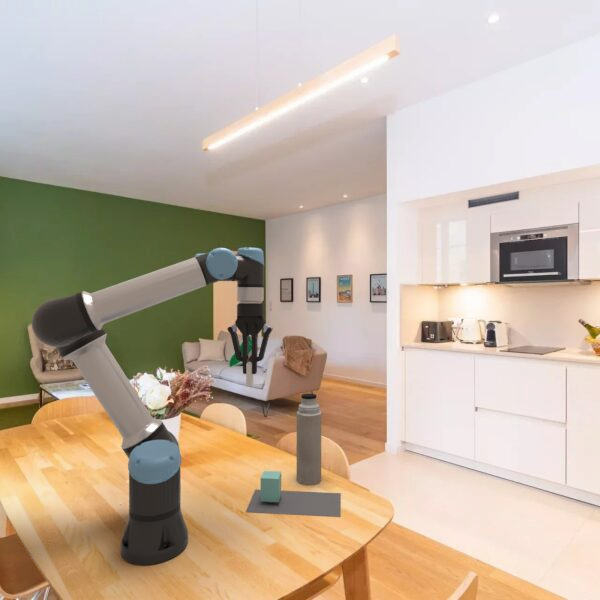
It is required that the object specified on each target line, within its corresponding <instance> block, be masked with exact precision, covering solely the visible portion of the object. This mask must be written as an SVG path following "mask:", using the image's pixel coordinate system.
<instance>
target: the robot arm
mask: <svg viewBox="0 0 600 600" xmlns="http://www.w3.org/2000/svg"><path fill="white" fill-rule="evenodd" d="M264 275H265V257H264V250H263V249H262V248H259V247H240V248H238V249H237V253H234V252H233V251H232V250H231V249H229V248H225V247H217V248H214V249H211V251H208V252H204V253H196V254H195V255H194V257H191V258H189V259H186V260H185V259H184V260H181V261H180V262H177V263H175V264H171V265H168V266H166V267H163V268H162V267H161V268H159V269H157V270H154V271H151V272H148V273H146V274H142V275H139V276H137V277H134V278H131V279H129V280H125V281H122V282H119V283H116V284H114V285H110V286H108V287H104V288H103V289H100V290H97V291H94V292H91V293H90V292H87V291H85V290H83V291H80V292H77V293H74V294H70V295H65V296H62V297H61V296H60V297H55V298H50V299H48V300H46V301H44V302H42V303H41V304H39V306H38V307H37V308H36V309H35V311H34V313H33V314H32V319H31V328H32V331H33V333H34V335H35V337H36V338H37V339H38V340H39V341H40V342H41V343H42V344H45V345H47V346H50V347H54V348H55V349H56V350H57V352H58V353H59V355H60V356H61V357H62V359H63V360H67V361H72V362H73V363H74V365H75V366H76V368H77V370H78V371H79V373H80V374H81V375H82V377H83V378H84V380H85V382H86V384H87V385H88V387H89V389H90V390H91V391H92V393H93V394H94V396H95V398H96V399H97V400H98V402H99V403H100V405H101V407H102V408H103V409H104V411H105V413H106V414H107V416H108V417H109V419H110V420H111V422H112V423H113V425H114V426H115V428H116V429H117V431H118V433H119V435H121V437H122V442H121V445H120V447H121V449H122V450H123V452H124V454H125V455H126V457H127V458H128V463H127V469H128V503H129V504H128V516H129V517H128V519H127V523H126V524H125V525H126V526H125V529H124V531H123V535H122V538H121V541H120V554H121V557H122V558H123V559H124V560H125V561H126V562H128V563H130V564H132V565H133V564H135V565H142V566H145V565H155V564H159V563H164V562H166V561H169V560H171V559H173V558H175V557H176V556H178V555H179V554H181V553H182V552H183V551H184V550H185V549H186V547H188V546H187V545H188V543H189V531H188V528H187V527H188V526H187V525H186V524H187V523H186V521H185V519H184V516H183V512H182V510H181V508H182V507H181V498H182V497H181V496H182V495H181V490H182V489H181V472H182V471H181V466H182V454H181V450H180V445H179V441H178V439H177V438H176V436H175V435H174V433H172V432H171V431H169V430H168V429H167V427H166V425H165V423H164V422H163V421H162V419H157V418H154V417H153V416H152V415H151V413H150V412H149V410H148V408H147V407H146V405H145V403H144V402H143V400H142V399H141V398H140V396H139V394H138V393H137V391H136V389H135V388H134V386H133V385H132V383H131V381H130V380H129V379H128V377H127V375H126V374H125V372H124V371H123V369H122V367H121V365H120V364H119V363H118V361H117V360H116V358H115V356H114V354H112V352H111V350H110V348H109V347H108V345H107V344H106V339H107V335H108V333H107V332H106V330H105V329H104V328H103V326H104V325H105V324H107V323H110V322H112V321H113V322H114V321H115V320H118V319H121V318H123V317H126V316H129V315H131V314H134V313H137V312H140V311H142V310H144V309H148V308H151V307H153V306H156V305H158V304H160V303H163V302H166V301H168V300H171V299H174V298H176V297H180V296H182V295H185V294H188V293H191V292H193V291H195V290H199V289H201V288H203V287H207V286H209V285H213V284H214V283H215V284H216V283H217V282H236V283H237V284H236V287H237V291H236V293H237V294H236V297H237V298H236V301H237V302H238V303H237V304H236V320H235V321H234V324H233V325H231V326H228V327H227V331H228V333H229V334H230V337H231V342H232V345H233V346H232V347H233V351H234V354H235V358H236V361H239V362H241V363H242V373H243V375H246V376H245V378H246V379H245V386H246V387H252V386H254V375H256V374H257V373H258V362H261V361H263V360H264V358H265V353H266V349H267V345H268V342H269V339H270V338H269V337H270V335H271V333H272V332H273V330H274V329H273V327H272V326H269V325H268V324H267V323H266V321H265V318H264V312H265V311H264V309H265V306H264V304H263V303H262V302H263V301H264V300H265V297H264V296H265V293H264V292H265V288H264V287H265V286H264V281H265V279H264V278H265V277H264ZM262 329H263V330H262ZM238 330H239V332H240V333H241V335H242V336H241V338H242V349H241V345H240V340H239V337H238V333H237V332H238ZM261 331H263V333H264V334H263V336H262V341H261V345H260V347H259V348H260V349H259V353H258V340H259V339H258V338H259V334H260V332H261ZM250 337H251V361H249V360H250V359H249V355H250V353H249V352H250V350H249V348H250V347H249V346H250V344H249V343H250V340H249V339H250Z"/></svg>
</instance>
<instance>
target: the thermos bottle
mask: <svg viewBox="0 0 600 600" xmlns="http://www.w3.org/2000/svg"><path fill="white" fill-rule="evenodd" d="M320 408H321V407H320V404H318V403H317V394H315V393H302V394H301V403H300V404H299V405H298V408H297V409H298V410H297V411H296V483H297V484H299V485H302V486H306V487H307V486H311V487H312V486H316V485H319V484H320V483H321V482H322V411H321V410H320Z"/></svg>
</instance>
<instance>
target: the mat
mask: <svg viewBox="0 0 600 600" xmlns="http://www.w3.org/2000/svg"><path fill="white" fill-rule="evenodd" d="M341 495H342V494H341V492H339V493H338V492H321V491H319V492H318V491H300V490H299V491H298V490H297V491H295V490H281V496H280V500H279V502H275V504H274V503H266V502H263V501H261V489H257V488H256V489H254V491H253V494H252V496H251V499H250V501H249V503H248V506H247V508H246V509H245V513H249V514H251V513H252V514H269V515H270V514H271V515H290V516H307V517H326V518H327V517H329V518H341V517H342V515H341V513H342V512H341V511H342V510H341V506H342V505H341V504H342V502H341V500H342V498H341Z"/></svg>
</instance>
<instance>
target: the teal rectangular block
mask: <svg viewBox="0 0 600 600" xmlns="http://www.w3.org/2000/svg"><path fill="white" fill-rule="evenodd" d="M260 490H261V501H263V502H279V500H280V496H281V491H282V471H278V470H276V471H274V470H263V472H262V474H261V477H260Z"/></svg>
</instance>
